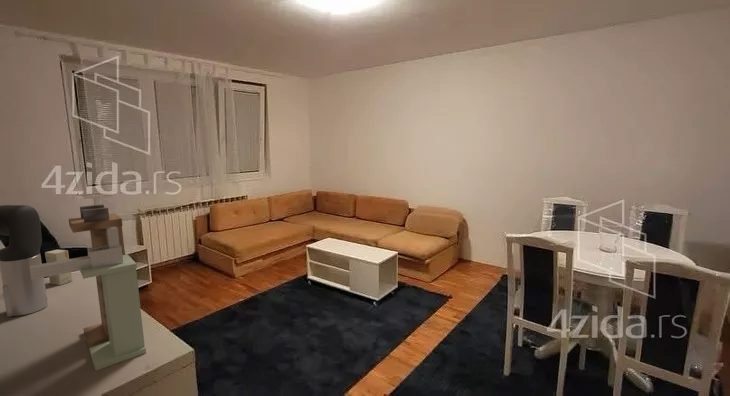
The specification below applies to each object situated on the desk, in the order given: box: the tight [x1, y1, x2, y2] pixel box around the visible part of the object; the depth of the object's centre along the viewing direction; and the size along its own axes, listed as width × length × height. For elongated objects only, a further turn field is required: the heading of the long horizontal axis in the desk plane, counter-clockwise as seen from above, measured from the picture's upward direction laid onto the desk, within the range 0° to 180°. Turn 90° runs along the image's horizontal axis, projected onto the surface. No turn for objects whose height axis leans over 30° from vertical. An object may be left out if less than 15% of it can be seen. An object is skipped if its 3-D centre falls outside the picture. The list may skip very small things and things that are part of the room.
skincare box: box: [44, 249, 73, 286], centre depth 131 cm, size 6×4×12 cm
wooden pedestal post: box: [68, 204, 126, 348], centre depth 93 cm, size 10×10×35 cm
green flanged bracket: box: [79, 254, 147, 371], centre depth 85 cm, size 10×10×23 cm
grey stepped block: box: [30, 227, 123, 280], centre depth 79 cm, size 16×4×8 cm, turn 134°
